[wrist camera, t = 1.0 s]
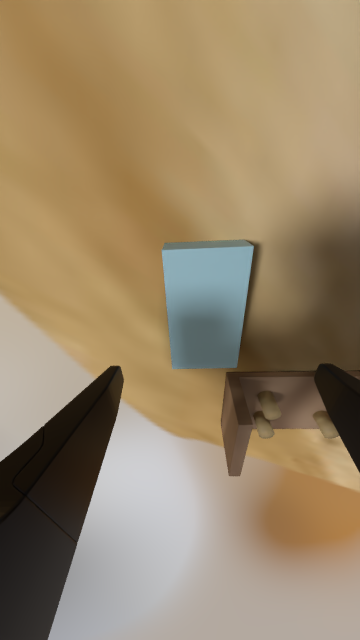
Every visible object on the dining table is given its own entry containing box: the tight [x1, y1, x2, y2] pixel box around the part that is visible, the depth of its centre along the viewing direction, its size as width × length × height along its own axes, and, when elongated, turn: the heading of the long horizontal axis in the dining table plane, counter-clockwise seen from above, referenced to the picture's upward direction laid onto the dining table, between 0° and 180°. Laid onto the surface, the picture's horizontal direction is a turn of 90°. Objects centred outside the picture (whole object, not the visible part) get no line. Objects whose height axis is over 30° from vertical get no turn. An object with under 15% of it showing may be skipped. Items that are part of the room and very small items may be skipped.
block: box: [162, 240, 254, 369], centre depth 14 cm, size 9×5×2 cm, turn 3°
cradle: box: [221, 371, 360, 476], centre depth 18 cm, size 14×8×5 cm, turn 92°
